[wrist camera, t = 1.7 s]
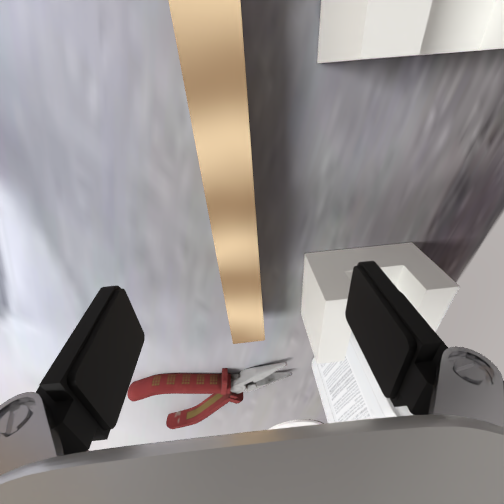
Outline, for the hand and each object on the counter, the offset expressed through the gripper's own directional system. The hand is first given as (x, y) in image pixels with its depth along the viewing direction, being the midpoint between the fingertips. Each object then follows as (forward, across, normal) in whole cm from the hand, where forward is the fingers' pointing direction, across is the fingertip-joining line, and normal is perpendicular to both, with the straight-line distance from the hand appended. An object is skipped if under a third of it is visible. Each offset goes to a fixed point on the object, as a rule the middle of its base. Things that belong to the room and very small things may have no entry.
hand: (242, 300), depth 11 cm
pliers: (+13, +6, +28) cm, 31 cm away
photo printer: (+12, -11, +20) cm, 25 cm away
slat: (+11, 0, -1) cm, 11 cm away
